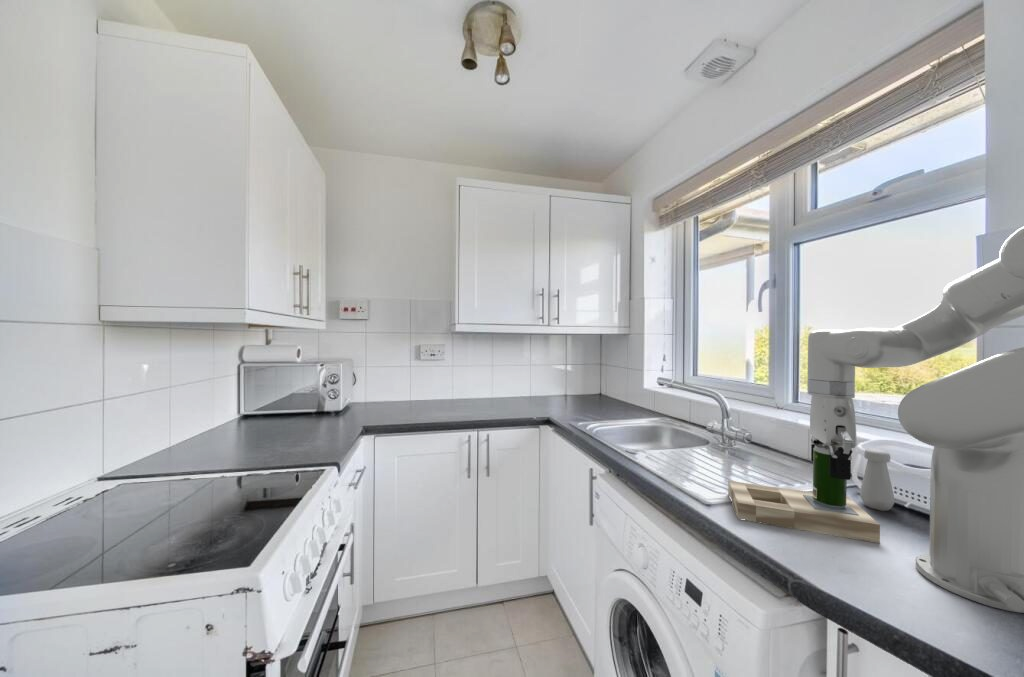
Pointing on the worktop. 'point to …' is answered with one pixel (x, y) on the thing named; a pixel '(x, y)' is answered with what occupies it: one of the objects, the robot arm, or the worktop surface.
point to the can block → (801, 512)
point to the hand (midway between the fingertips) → (829, 470)
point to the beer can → (827, 480)
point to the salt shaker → (877, 481)
